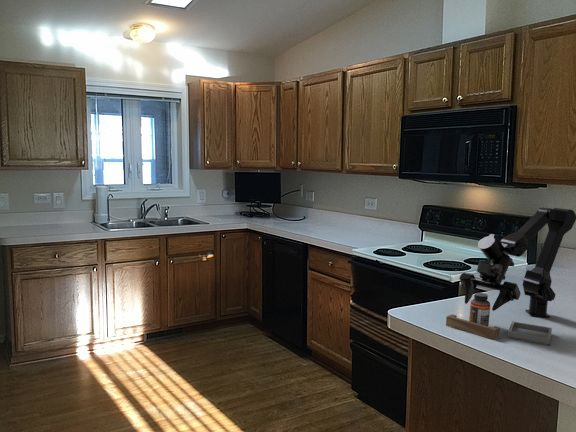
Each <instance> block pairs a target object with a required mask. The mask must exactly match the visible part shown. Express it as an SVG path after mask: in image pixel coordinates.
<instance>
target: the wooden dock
mask: <svg viewBox="0 0 576 432" xmlns="http://www.w3.org/2000/svg"><path fill="white" fill-rule="evenodd" d="M445 317H446V318H445V319H446V320H445V326H446V327H449V328H453V329H456V330H457V329H458V330H460V331H464V332H467V333H470V334H474V335H477V336H481V337H484V338H487V339H490V340H497V339H499V338H500V335H501V334H500V333H501V327H500V326H496V325H495V326H493V327H492V326H485V325H481V324H478V323H474V322H470V321H469V320H467V319H463V318H459V317H457V314H452V313H451V314H449V315H447V316H445ZM498 337H499V338H498Z"/></svg>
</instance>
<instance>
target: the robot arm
mask: <svg viewBox="0 0 576 432" xmlns="http://www.w3.org/2000/svg"><path fill="white" fill-rule="evenodd" d="M575 222H576V212H575V211H574V210H573V209H570V208H569V209H568V208H561V207H553V208H549V207H539V208H537V210H536V212H535V213H534V214H533V215H532V216H531V217H530V218H529V219H528V220H527V221H526V222H525V223H524V224H523V225H522V226H521V227H520V228H519V229H518V230H517V231H514V232H511V233H509V234H507V235H506V236H504V237H502V239H501V240H499V239H498V236H497V235H496V234H494V233H489V235H488V236H484V237H483V238H482V239H479V241H478V243H477V248H478V249H479V250H480V251H481V252H482V254H483V255H484V256H485V258H486V259H487V260H490V262H489V263H485V262H479V263H478V265H477V269H476V273H478V274H479V278H480V279H478V278H476V277H475V275H474V274H472V273H468V272H462V273H461V274H460V276H459V281H460V282H461V284H462V287H463V288H465V289H464V290H465V293H464V294H465V295H464V304H465V305H468V303H469V302H470V300H472V296H473V295H475V293H476V291H475V289H476V288H477V287H483V288H487V289H490V290H495V291H498V292H499V293H498V296H497V298H496V299H495V300H494V303H493V305H492V308H491V311H493V312H495V311H496V310H498V309H499V308H501V307H502V306H503V305H505V304H507V303H509V302H513V301H515V300H517V301H518V300H519V299H520V297H521V290H520V288H519V286H518V284H517V283H516V282H512V281H508V280H507V281H505V279H506V274H507V271H508V269H509V267H514V266H515V263H514V261H513V258H511V256H513V257H517V258H520V257H521V256H523V255H524V253H525V252H526V251H527V249H529V243H530V241H531V240H532V239H533V238H534V237H535V235H537V234H538V233H539V232H540V231H541V230H542V229H543V227H545V226H546V225H547V228H548V232H547V234H546V237H545V238H544V239H545V240H544V242H543V244H542V247H541V250H540V252H539V255H538V258H537V260H536V263H535V266H534V267H533V268H532V269H530V270H529V269H527V270H526V271H525V275H524V277H523V279H522V287H523V292H524V296H528V297H529V306H528V309H525V312H526V313H527V314H528V315H529V316H531V317H539V318H540V317H541V318H551V315H550V314H549V313H548V303H549V302H552V301H554V300H555V298H556V295H557V294H556V293H555V291H554V290H553V288H552V287H551V286H552V280H553V279H552V276H551V271H552V267H553V265H554V262H555V260H556V257H557V255H558V251H559V249H560V246H561V244H562V241H563V239H564V235H565V234H566V233H568V232H569V231H570V230H572V228H573V226H574V225H575ZM503 280H504V281H503ZM502 282H503V283H502ZM501 283H502V284H501Z"/></svg>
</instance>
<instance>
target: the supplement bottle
mask: <svg viewBox="0 0 576 432" xmlns="http://www.w3.org/2000/svg"><path fill="white" fill-rule="evenodd" d="M473 295H474V296H473V299H470V300H471V301H470V307H469V320H468V321H470V322H474V323H478V324H481V325H485V326H488V327H490V326H489V324H490V313H491V302H490V301H489V300H488V297H489V295H488V294H487V293H483V292H474V294H473Z"/></svg>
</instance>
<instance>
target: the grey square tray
mask: <svg viewBox="0 0 576 432" xmlns="http://www.w3.org/2000/svg"><path fill="white" fill-rule="evenodd" d="M552 331H553V328H552V327H548V326H543V325H538V324H530V323H525V322H520V321H519V322H518V321H514V320H512V321H511V323H510V326H509V328H508V330H507V339H508V338H509V339H512V338H513V340H517V339H519V340H518V341H523V340H524V342H528V343H529V342H530V343H533V342H534V344H539V345H544V346H551V341H552Z"/></svg>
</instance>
